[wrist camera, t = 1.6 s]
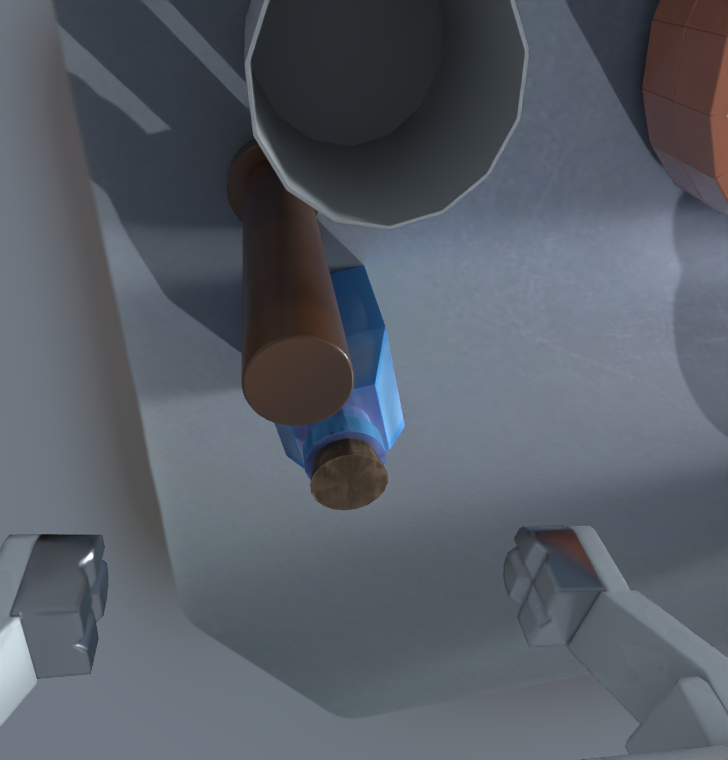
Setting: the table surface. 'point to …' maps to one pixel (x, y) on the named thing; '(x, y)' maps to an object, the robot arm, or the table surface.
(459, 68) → the cup
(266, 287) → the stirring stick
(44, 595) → the robot arm
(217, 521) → the table surface
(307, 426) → the perfume bottle
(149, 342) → the table surface
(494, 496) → the table surface
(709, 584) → the table surface
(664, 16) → the bowl
